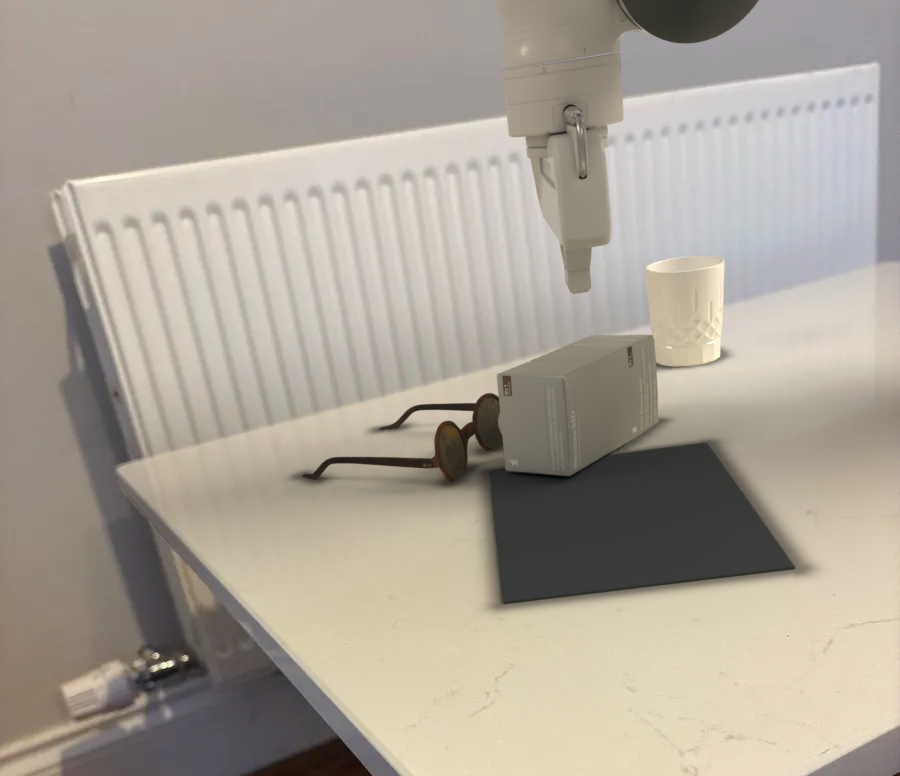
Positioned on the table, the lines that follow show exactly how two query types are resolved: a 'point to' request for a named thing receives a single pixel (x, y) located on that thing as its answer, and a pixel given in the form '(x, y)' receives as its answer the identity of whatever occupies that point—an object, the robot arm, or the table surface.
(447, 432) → the eyeglasses
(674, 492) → the mat
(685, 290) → the white cup
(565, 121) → the robot arm
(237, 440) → the table surface
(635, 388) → the cosmetic box
